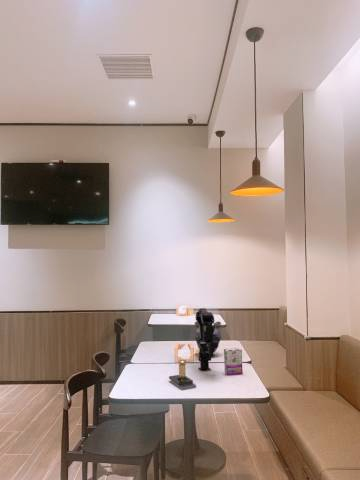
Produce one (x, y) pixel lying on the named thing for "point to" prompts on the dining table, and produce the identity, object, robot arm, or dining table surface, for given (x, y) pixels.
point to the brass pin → (182, 370)
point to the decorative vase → (216, 332)
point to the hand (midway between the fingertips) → (207, 355)
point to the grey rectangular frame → (182, 382)
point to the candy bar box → (233, 361)
